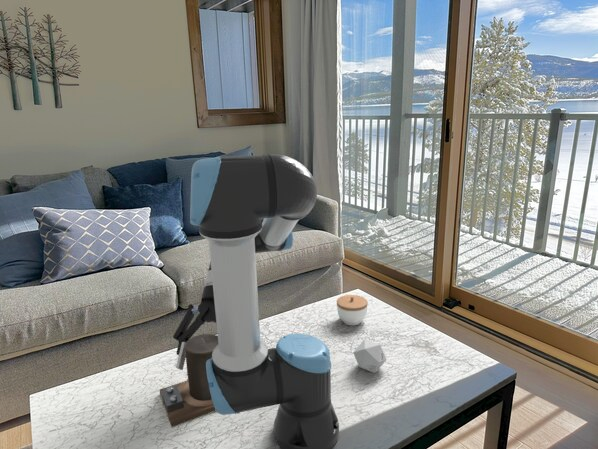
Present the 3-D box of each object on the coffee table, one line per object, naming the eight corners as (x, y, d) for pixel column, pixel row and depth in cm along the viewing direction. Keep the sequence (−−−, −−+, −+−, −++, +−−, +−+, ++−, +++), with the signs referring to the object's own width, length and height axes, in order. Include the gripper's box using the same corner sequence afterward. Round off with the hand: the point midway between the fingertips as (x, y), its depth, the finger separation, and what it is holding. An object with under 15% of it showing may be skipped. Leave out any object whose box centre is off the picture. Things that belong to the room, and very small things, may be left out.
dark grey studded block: (250, 383, 111) (250, 374, 111) (167, 413, 101) (166, 403, 100) (241, 370, 117) (240, 361, 117) (162, 397, 107) (160, 387, 106)
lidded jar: (351, 311, 153) (351, 287, 150) (373, 321, 145) (374, 297, 142) (330, 320, 146) (330, 296, 144) (352, 332, 138) (352, 306, 136)
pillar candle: (190, 404, 103) (184, 351, 99) (188, 381, 112) (183, 332, 109) (228, 396, 106) (224, 344, 102) (224, 374, 115) (220, 326, 111)
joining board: (256, 395, 109) (255, 389, 108) (171, 427, 99) (170, 420, 98) (237, 368, 121) (236, 363, 120) (160, 394, 110) (159, 388, 110)
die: (362, 382, 114) (384, 358, 111) (342, 357, 118) (363, 334, 115) (375, 377, 120) (396, 355, 117) (356, 353, 125) (376, 331, 122)
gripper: (260, 295, 116) (247, 377, 105) (184, 291, 121) (164, 369, 110) (253, 285, 110) (238, 371, 99) (174, 281, 114) (151, 363, 103)
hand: (199, 370), depth 104 cm, fingers open, 11 cm apart
